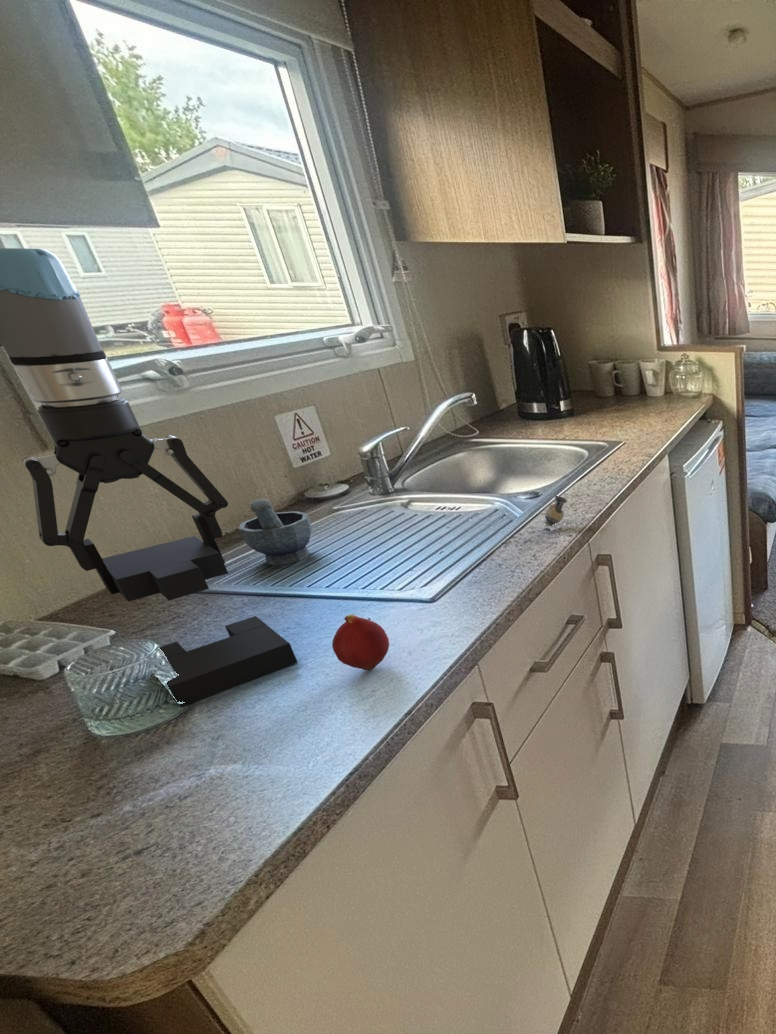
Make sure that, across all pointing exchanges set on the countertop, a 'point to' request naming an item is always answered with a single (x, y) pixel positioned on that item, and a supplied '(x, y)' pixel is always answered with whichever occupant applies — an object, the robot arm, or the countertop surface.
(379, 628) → the onion
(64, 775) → the countertop surface
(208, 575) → the pad
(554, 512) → the vase
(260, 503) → the mortar and pestle
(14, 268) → the robot arm
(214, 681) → the notch pad
